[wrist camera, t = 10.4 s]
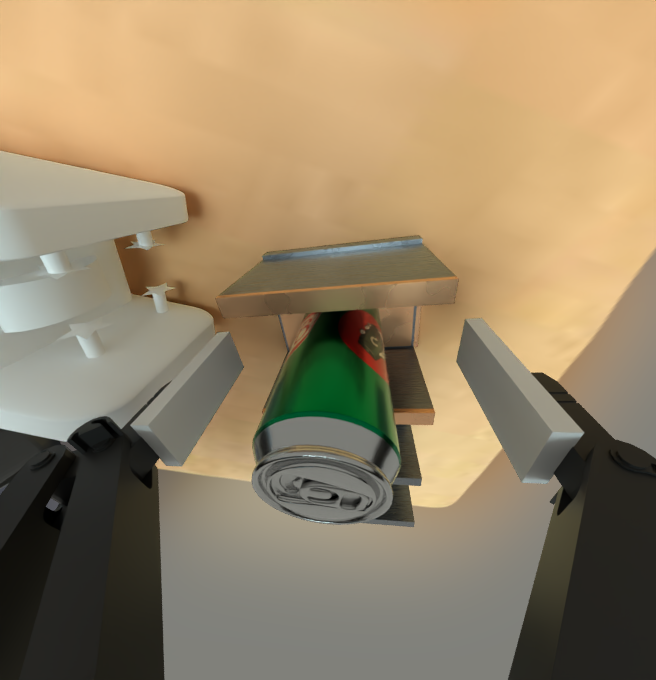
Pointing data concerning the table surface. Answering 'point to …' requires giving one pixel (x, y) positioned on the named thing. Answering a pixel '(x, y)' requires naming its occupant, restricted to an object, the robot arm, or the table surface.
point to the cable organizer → (83, 298)
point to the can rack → (355, 294)
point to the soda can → (330, 424)
